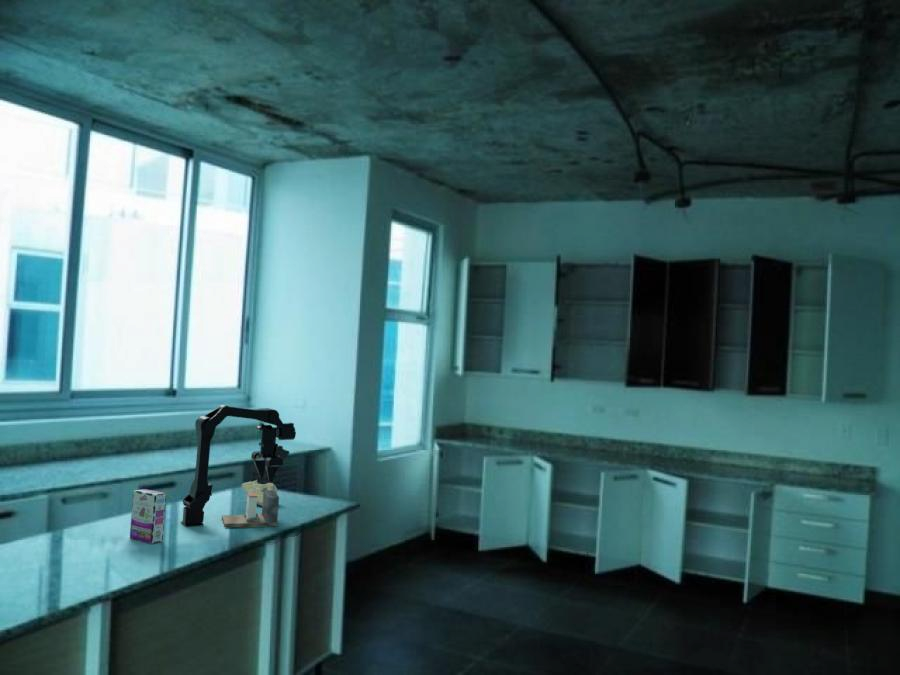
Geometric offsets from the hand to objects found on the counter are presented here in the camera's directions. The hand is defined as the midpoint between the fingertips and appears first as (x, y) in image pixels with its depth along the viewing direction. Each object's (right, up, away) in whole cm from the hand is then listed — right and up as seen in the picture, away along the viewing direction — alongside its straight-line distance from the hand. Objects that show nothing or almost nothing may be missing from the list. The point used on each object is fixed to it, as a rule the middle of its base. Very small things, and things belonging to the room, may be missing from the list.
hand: (266, 480), depth 286 cm
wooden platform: (-4, -14, -9) cm, 18 cm away
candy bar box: (-30, -12, -41) cm, 52 cm away
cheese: (-10, -15, +24) cm, 30 cm away
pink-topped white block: (-4, -13, -9) cm, 16 cm away
